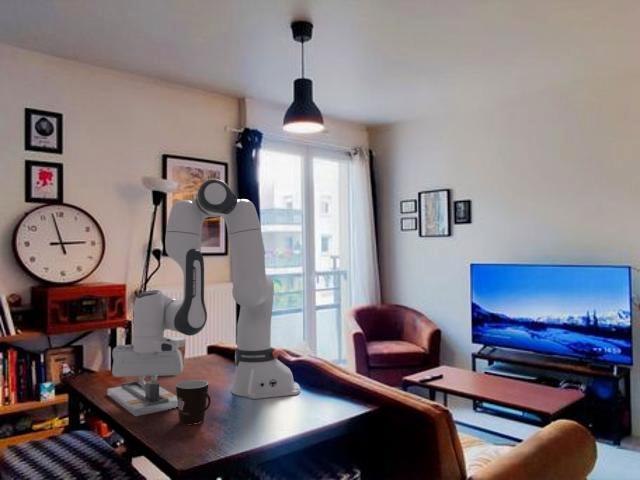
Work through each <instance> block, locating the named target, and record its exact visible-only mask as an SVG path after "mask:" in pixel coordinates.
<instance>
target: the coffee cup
mask: <svg viewBox="0 0 640 480" xmlns="http://www.w3.org/2000/svg"><path fill="white" fill-rule="evenodd" d="M166 338H169V339H172V340H176V341H178V342H179V347H178V350H180V352H181V354H182V361H183V370H184V366H185V355H186V342H187V339H186V338H185V337H183V336H168V337H166Z"/></svg>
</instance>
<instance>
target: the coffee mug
mask: <svg viewBox="0 0 640 480" xmlns="http://www.w3.org/2000/svg"><path fill="white" fill-rule="evenodd" d="M175 390H176V396H177V402H178V408H177V409H178V418H179V424H180V423H183V424H194V423H199V422H201V421H203V420H204V421H205V412H206V411H207V410H208V409H209V408H210V405H211V397H210V395H209V393H208V390H209V382H208V381H207V380H201V379H190V380H183V381H179V382H177V383H176V384H175ZM204 421H203V422H204ZM183 424H182V425H183Z"/></svg>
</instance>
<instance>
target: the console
mask: <svg viewBox="0 0 640 480" xmlns="http://www.w3.org/2000/svg"><path fill="white" fill-rule="evenodd" d="M148 382H149V381H145V383H148ZM107 396H108V397H110V399H112V400H113V401H114V402H116V403H117V404H118V405H120V407H123V408H124V410H126V411H128V412H129V413H130V414H132V415H133V416H134V417H139V416H144V415H148V414H153V413H159V412H163V411H168V409H169V410H173V409H172V408H174V409H177V408H176V407H178V402H177V394H174V393H172V392H170V391H168V390H166V389H165V388H164V387H161V386H160V385H159V399H156V400H151V401H150V400H149V399H147V398H146V397H145V391H143V390H142V384H141V383H140V381H139V380H132V381H128V382H122V383H121V386H116V387H110V388H107Z"/></svg>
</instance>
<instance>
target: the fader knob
mask: <svg viewBox="0 0 640 480" xmlns="http://www.w3.org/2000/svg"><path fill="white" fill-rule="evenodd" d="M147 382H148V383H146V389H145V397H146V398H147V399H149V400H150V401H151V400H156V399H159V386H160V383H159V382H157V381H155V382H152V381H147Z"/></svg>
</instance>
